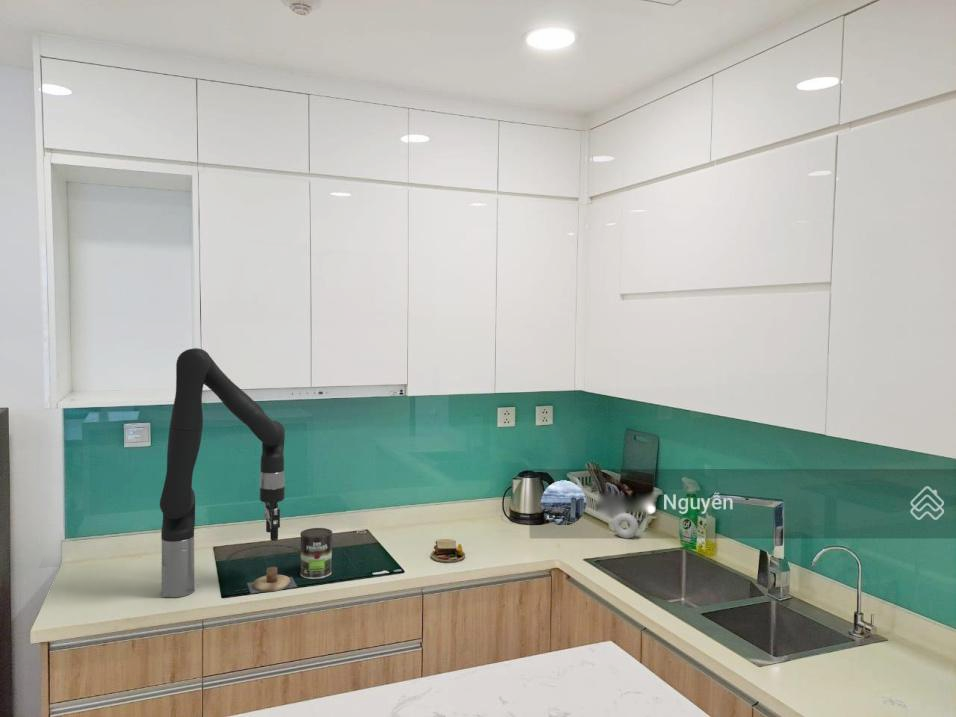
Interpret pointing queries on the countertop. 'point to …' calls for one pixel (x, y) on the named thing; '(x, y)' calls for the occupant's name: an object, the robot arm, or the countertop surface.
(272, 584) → the lid
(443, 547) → the toy sandwich meal
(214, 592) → the countertop surface
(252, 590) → the mat
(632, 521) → the donut
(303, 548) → the coffee can
